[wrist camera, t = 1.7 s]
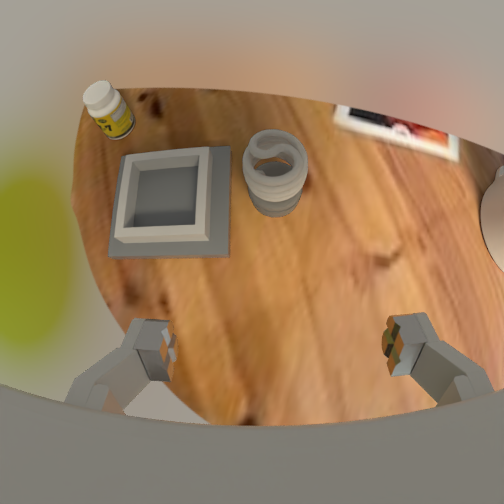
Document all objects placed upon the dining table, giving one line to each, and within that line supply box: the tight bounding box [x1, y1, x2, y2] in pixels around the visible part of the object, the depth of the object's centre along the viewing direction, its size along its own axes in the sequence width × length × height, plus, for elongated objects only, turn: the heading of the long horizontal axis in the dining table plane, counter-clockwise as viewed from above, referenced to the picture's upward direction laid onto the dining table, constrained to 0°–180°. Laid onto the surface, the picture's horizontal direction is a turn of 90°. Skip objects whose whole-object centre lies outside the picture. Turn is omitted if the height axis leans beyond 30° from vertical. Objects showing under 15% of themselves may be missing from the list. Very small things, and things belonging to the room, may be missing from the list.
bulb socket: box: [108, 146, 232, 259], centre depth 35 cm, size 14×13×4 cm
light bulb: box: [242, 129, 308, 217], centre depth 30 cm, size 6×6×12 cm
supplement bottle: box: [83, 80, 135, 140], centre depth 36 cm, size 5×5×8 cm
